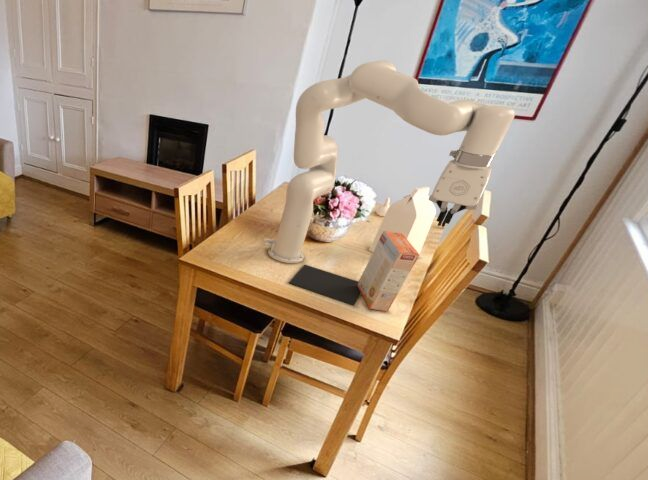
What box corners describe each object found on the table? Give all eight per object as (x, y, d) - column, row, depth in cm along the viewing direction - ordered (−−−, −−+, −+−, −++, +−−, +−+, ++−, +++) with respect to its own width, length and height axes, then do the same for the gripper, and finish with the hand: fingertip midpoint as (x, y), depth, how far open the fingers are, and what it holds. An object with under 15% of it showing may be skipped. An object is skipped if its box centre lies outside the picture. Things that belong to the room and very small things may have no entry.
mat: (288, 283, 153) (289, 282, 152) (304, 265, 163) (304, 264, 163) (353, 305, 142) (353, 304, 142) (365, 285, 152) (366, 284, 152)
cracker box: (389, 312, 139) (421, 254, 127) (368, 309, 140) (398, 251, 127) (375, 287, 150) (403, 232, 138) (356, 285, 151) (382, 229, 139)
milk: (396, 263, 164) (426, 196, 149) (368, 250, 173) (395, 185, 158) (418, 257, 168) (450, 191, 153) (390, 244, 177) (418, 180, 162)
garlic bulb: (390, 219, 197) (397, 201, 192) (374, 215, 199) (381, 198, 195) (391, 214, 201) (398, 197, 196) (375, 211, 204) (382, 194, 199)
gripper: (436, 156, 116) (408, 221, 126) (509, 168, 108) (472, 237, 118) (440, 150, 120) (412, 213, 131) (511, 161, 113) (475, 227, 123)
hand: (441, 224), depth 124 cm, fingers closed
